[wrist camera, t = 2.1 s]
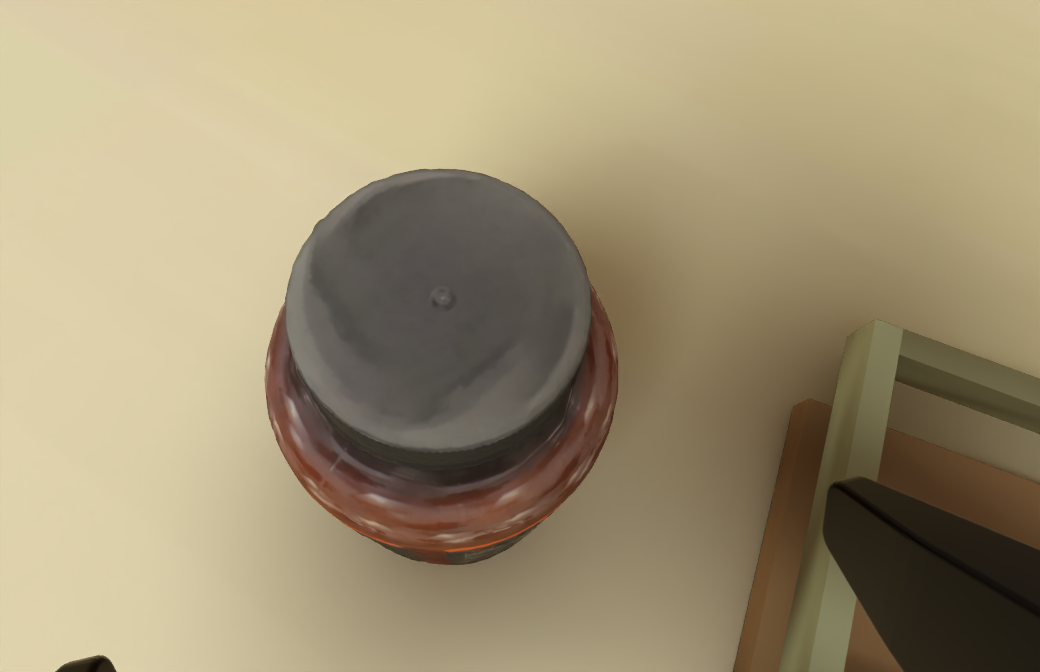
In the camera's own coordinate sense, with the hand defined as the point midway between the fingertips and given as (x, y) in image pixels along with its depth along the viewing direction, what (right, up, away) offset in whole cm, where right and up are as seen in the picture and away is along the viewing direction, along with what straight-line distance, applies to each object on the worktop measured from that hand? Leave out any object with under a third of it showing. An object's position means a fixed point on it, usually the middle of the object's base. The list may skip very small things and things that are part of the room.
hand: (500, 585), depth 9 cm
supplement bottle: (-2, 0, +11) cm, 11 cm away
